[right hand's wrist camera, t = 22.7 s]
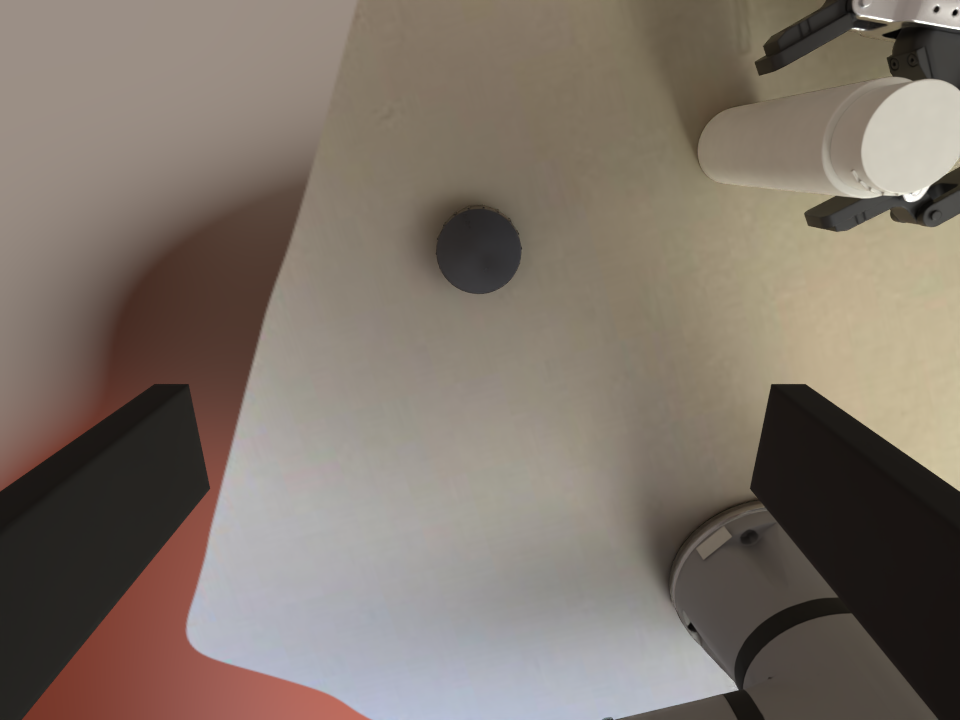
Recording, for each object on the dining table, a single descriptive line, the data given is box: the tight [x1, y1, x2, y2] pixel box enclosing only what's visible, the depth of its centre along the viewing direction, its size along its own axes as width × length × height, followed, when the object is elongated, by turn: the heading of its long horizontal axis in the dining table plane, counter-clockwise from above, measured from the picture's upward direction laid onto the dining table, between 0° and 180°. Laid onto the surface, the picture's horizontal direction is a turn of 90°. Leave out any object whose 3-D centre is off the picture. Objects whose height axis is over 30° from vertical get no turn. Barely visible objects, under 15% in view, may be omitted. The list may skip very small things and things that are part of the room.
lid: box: [436, 205, 522, 294], centre depth 35 cm, size 6×6×2 cm
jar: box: [698, 77, 960, 198], centre depth 27 cm, size 4×4×15 cm
